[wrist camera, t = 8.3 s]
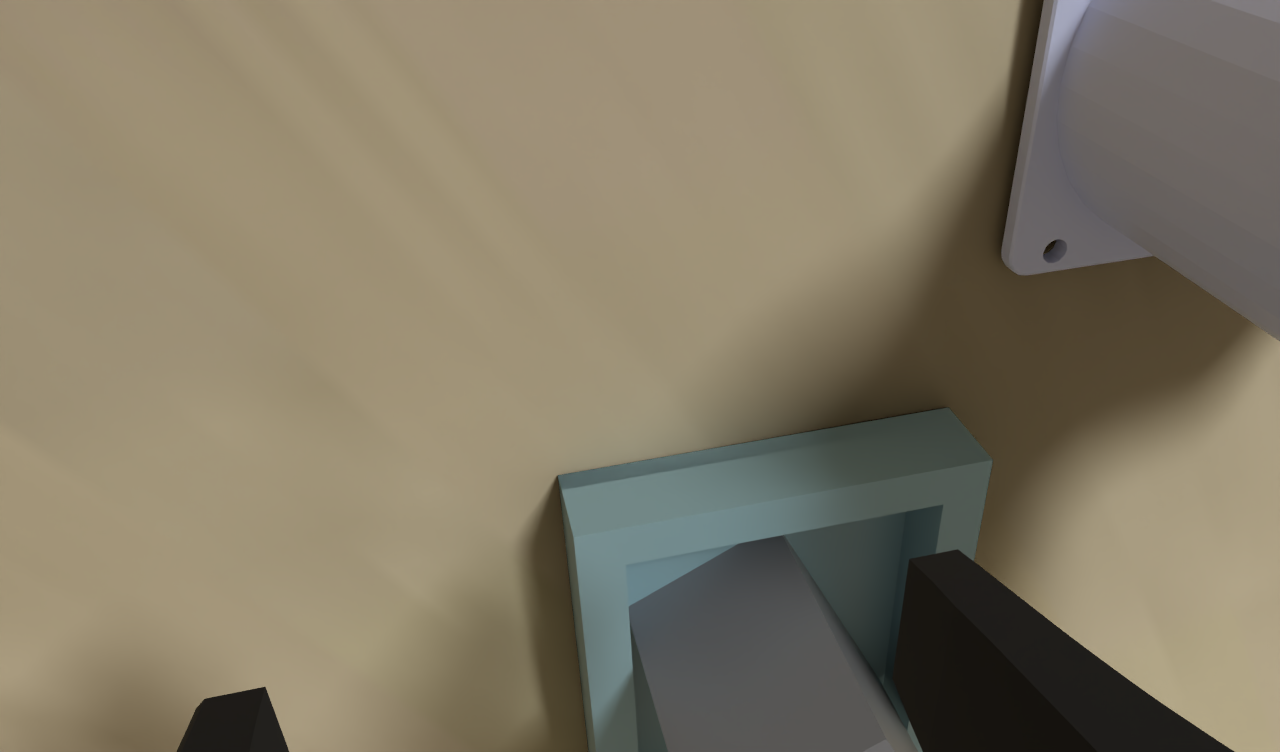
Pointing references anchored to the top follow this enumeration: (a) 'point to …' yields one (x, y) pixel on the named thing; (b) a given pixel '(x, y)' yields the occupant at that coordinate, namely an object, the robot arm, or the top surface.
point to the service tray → (757, 509)
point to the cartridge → (759, 661)
